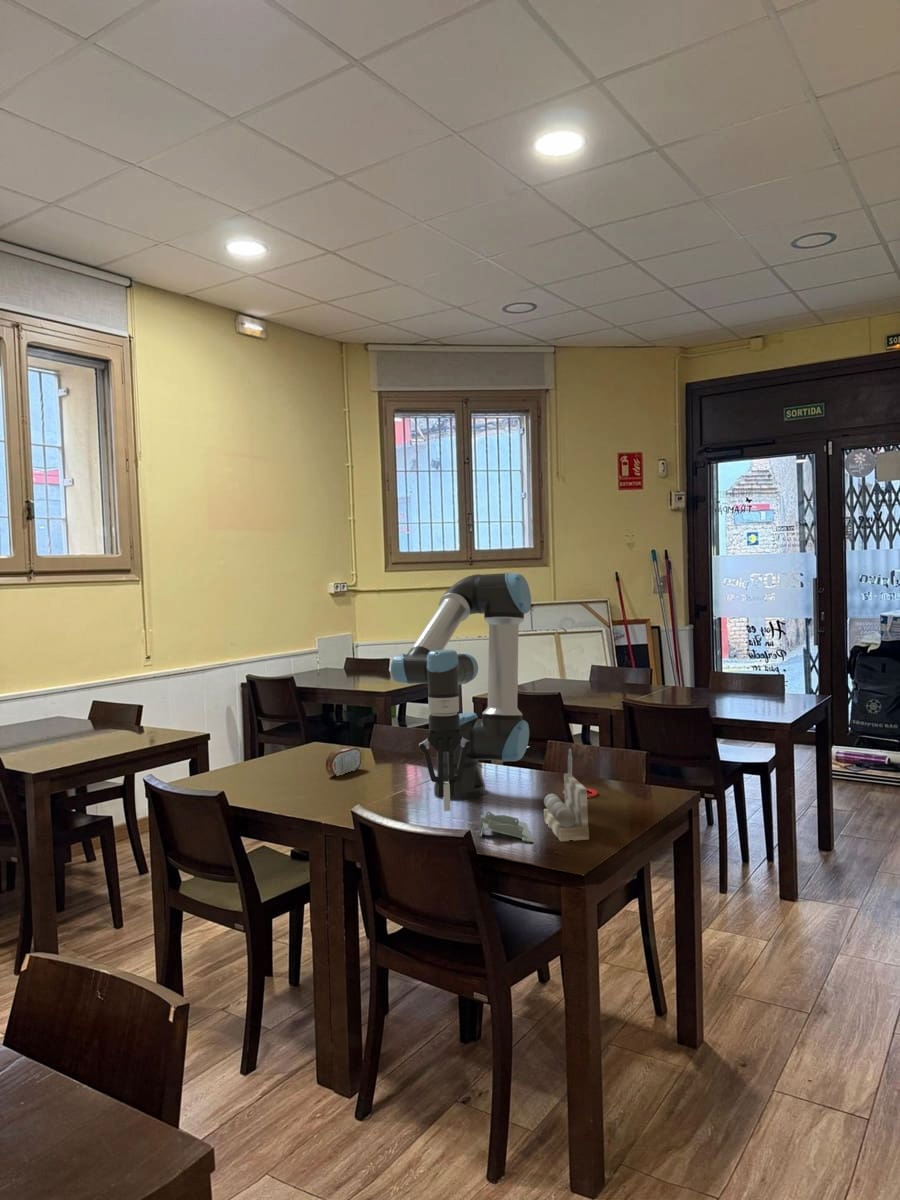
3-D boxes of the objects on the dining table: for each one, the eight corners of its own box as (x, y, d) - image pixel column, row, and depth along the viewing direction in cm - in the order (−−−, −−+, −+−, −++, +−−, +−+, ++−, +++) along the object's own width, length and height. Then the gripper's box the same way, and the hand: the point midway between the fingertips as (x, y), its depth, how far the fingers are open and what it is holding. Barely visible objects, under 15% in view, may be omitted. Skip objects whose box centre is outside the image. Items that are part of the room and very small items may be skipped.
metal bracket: (483, 822, 195) (478, 805, 210) (477, 846, 195) (472, 827, 210) (541, 836, 196) (532, 818, 211) (535, 860, 196) (526, 840, 211)
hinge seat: (544, 820, 213) (542, 774, 213) (570, 818, 214) (569, 772, 214) (560, 841, 196) (558, 791, 196) (589, 839, 197) (587, 789, 197)
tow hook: (602, 795, 237) (575, 789, 243) (603, 751, 236) (575, 746, 242) (587, 802, 230) (559, 795, 236) (588, 757, 229) (559, 751, 235)
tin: (356, 768, 278) (355, 743, 278) (363, 769, 276) (362, 744, 276) (325, 778, 266) (324, 752, 266) (332, 779, 264) (331, 753, 264)
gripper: (418, 717, 196) (421, 815, 197) (472, 714, 198) (475, 812, 198) (416, 712, 204) (419, 807, 204) (468, 710, 205) (470, 804, 206)
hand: (446, 809), depth 201 cm, fingers closed
